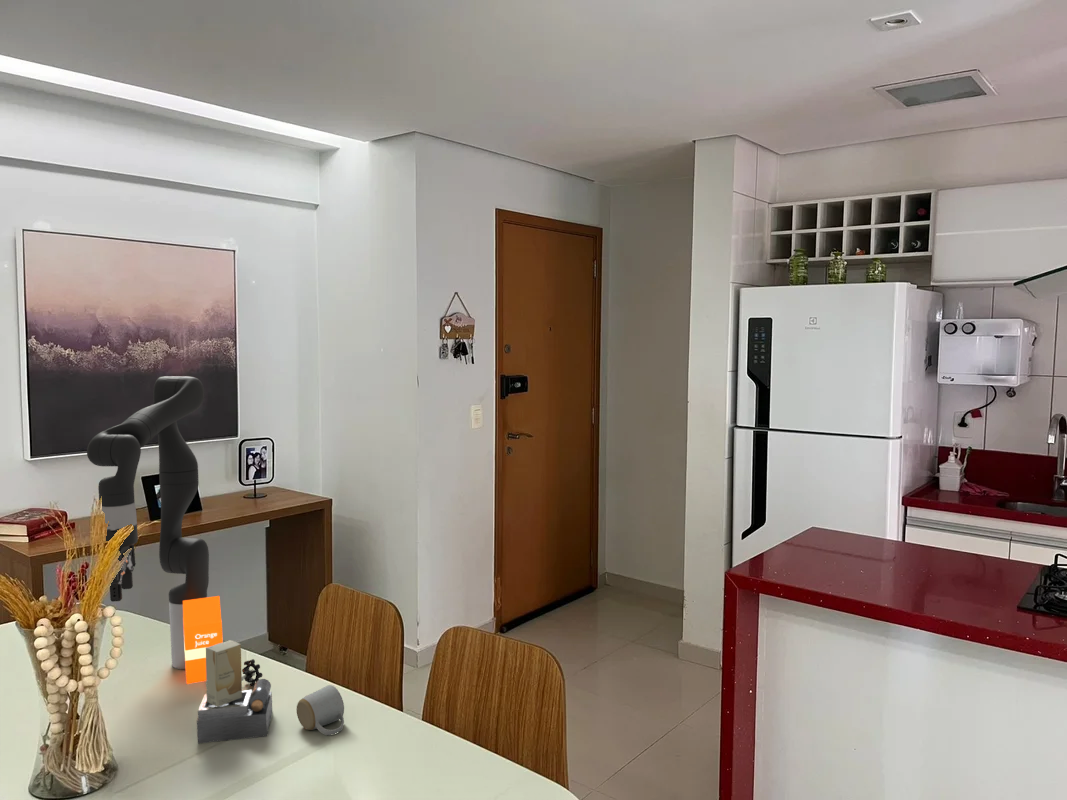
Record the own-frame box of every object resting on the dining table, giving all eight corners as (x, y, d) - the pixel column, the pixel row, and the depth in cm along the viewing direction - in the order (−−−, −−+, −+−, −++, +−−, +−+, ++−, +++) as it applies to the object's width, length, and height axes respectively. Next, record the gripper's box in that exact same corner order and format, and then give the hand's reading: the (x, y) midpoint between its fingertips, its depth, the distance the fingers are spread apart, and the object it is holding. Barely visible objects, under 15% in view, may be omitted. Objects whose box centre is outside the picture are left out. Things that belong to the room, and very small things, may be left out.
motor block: (207, 719, 184) (205, 682, 183) (272, 712, 186) (271, 676, 186) (197, 743, 173) (195, 704, 172) (266, 736, 176) (265, 697, 175)
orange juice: (185, 672, 209) (181, 596, 207) (222, 666, 212) (219, 591, 210) (186, 684, 201) (182, 605, 200) (224, 677, 205) (221, 600, 203)
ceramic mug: (294, 725, 180) (293, 692, 179) (326, 712, 186) (325, 680, 186) (322, 742, 173) (321, 707, 172) (354, 728, 179) (353, 694, 178)
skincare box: (217, 707, 175) (214, 652, 174) (206, 702, 177) (203, 647, 176) (243, 697, 180) (241, 643, 179) (232, 691, 182) (230, 638, 181)
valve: (220, 707, 189) (263, 688, 199) (219, 680, 189) (262, 662, 199) (202, 700, 193) (245, 681, 203) (201, 673, 192) (244, 656, 202)
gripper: (109, 517, 188) (113, 586, 189) (89, 532, 174) (93, 606, 175) (144, 515, 189) (148, 583, 191) (127, 530, 176) (131, 603, 177)
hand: (122, 594), depth 183 cm, fingers open, 8 cm apart
